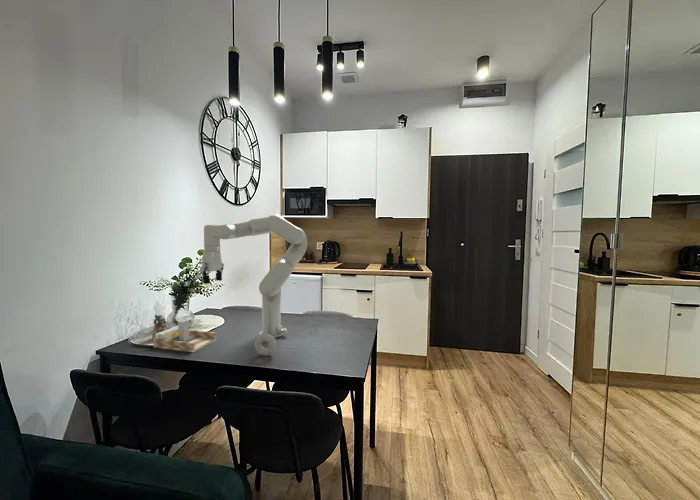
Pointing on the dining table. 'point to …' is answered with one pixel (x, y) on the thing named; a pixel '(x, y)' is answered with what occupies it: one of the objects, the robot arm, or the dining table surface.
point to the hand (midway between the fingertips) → (212, 281)
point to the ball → (174, 335)
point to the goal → (167, 333)
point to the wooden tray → (197, 343)
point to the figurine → (159, 325)
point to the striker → (183, 332)
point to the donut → (261, 349)
